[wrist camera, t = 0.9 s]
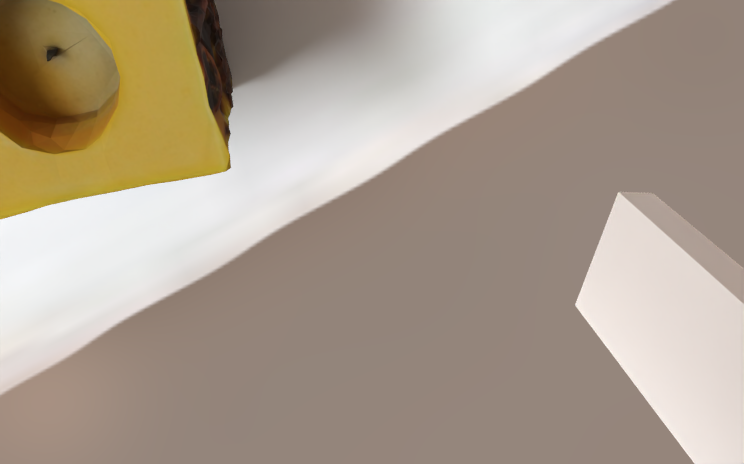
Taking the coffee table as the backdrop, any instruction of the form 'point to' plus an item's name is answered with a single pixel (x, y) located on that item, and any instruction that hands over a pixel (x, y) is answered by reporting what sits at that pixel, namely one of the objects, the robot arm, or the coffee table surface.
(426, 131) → the coffee table surface
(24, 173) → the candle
